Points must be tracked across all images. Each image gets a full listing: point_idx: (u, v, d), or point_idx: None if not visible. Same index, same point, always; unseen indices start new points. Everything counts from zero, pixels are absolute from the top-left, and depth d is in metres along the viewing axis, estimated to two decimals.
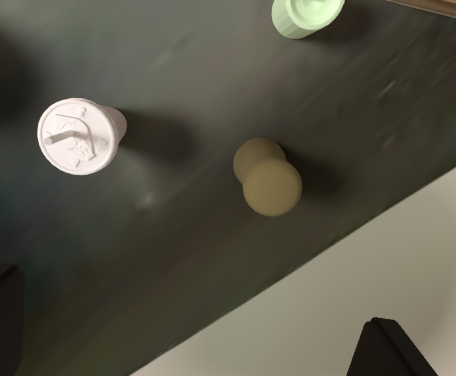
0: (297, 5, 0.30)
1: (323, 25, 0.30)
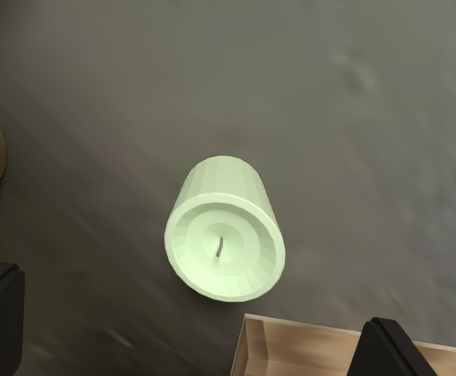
0: (207, 214, 0.15)
1: (173, 264, 0.15)
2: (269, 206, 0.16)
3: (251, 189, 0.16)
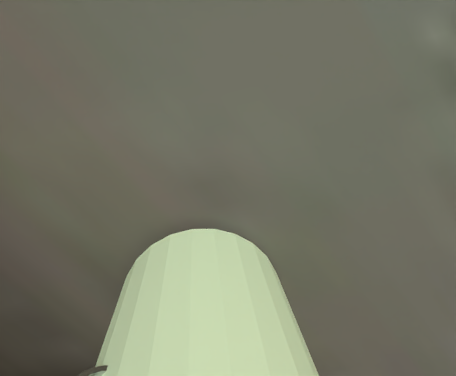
0: None
1: None
2: None
3: None
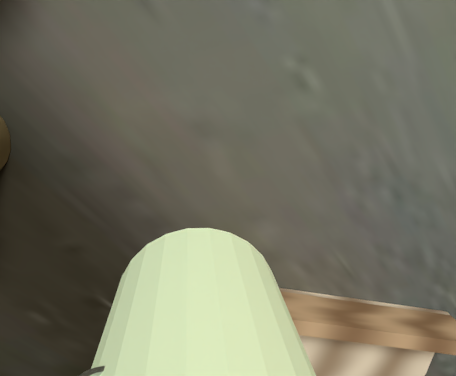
0: None
1: None
2: None
3: None
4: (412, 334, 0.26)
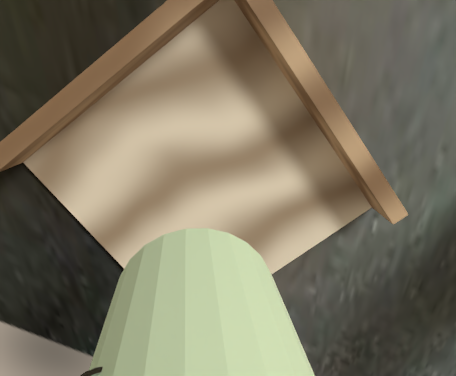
0: None
1: None
2: None
3: None
4: (367, 151, 0.23)
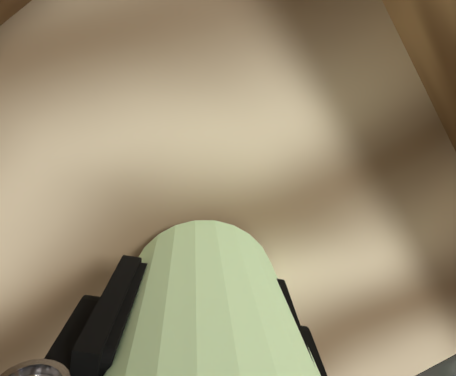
0: None
1: None
2: None
3: (281, 347, 0.07)
4: None
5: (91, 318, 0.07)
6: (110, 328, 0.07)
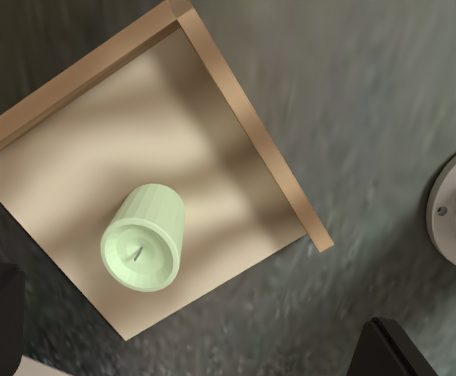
0: (129, 231, 0.22)
1: (106, 265, 0.22)
2: (176, 226, 0.23)
3: (163, 214, 0.22)
4: (298, 184, 0.25)
5: None
6: None
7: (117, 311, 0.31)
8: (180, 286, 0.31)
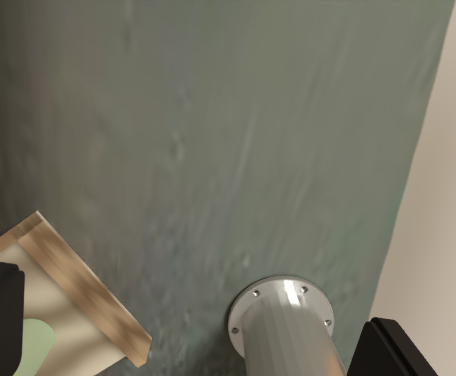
0: None
1: None
2: (26, 363, 0.36)
3: None
4: (114, 327, 0.38)
5: None
6: None
7: None
8: None
